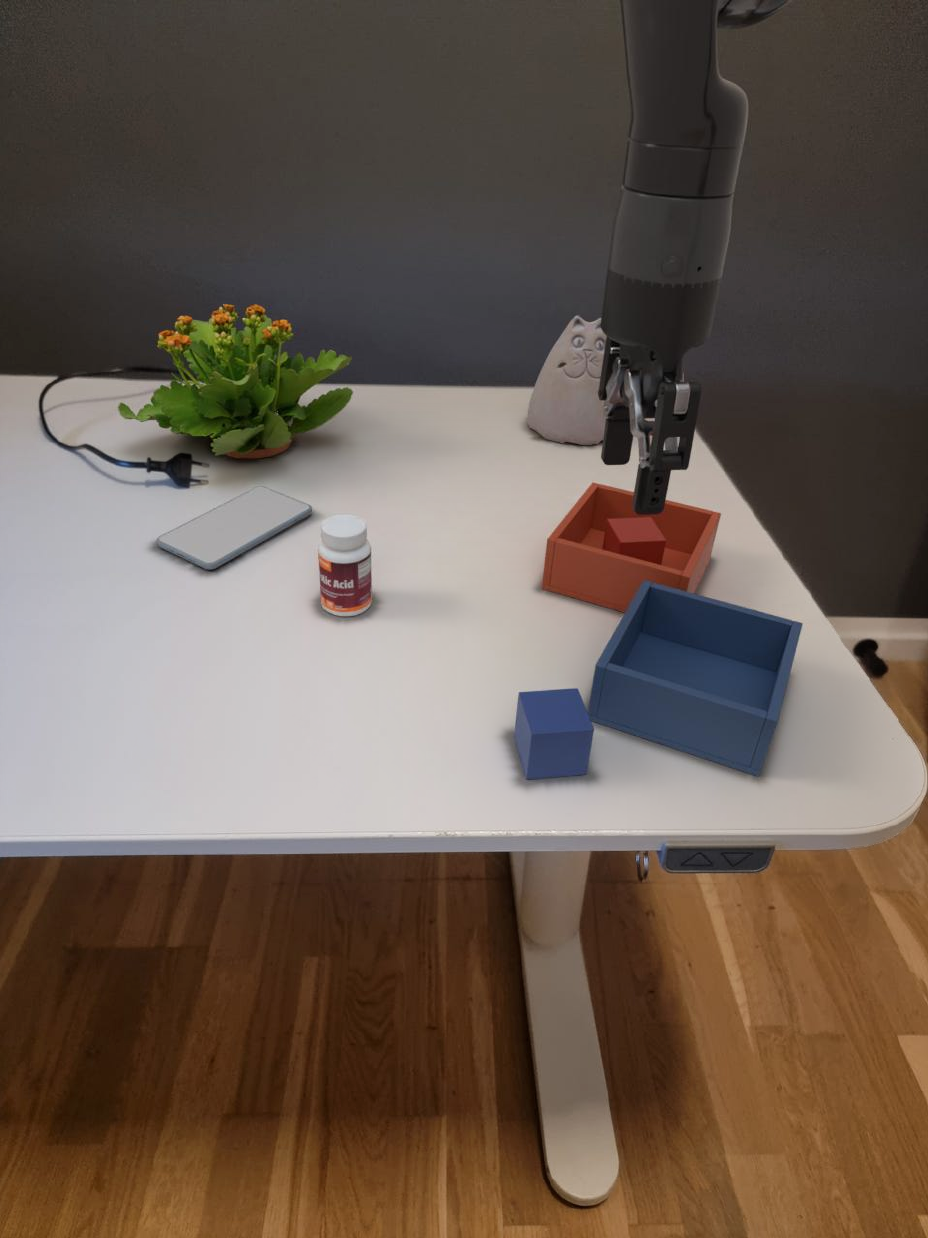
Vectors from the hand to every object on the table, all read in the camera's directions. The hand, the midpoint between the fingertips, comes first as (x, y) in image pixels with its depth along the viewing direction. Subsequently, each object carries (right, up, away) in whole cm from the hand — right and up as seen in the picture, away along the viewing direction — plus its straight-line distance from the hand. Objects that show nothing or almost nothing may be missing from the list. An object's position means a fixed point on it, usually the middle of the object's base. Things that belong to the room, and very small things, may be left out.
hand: (629, 486), depth 66 cm
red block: (+4, -5, +20) cm, 21 cm away
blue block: (-6, -21, -1) cm, 22 cm away
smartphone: (-37, -1, +24) cm, 44 cm away
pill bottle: (-24, -9, +14) cm, 29 cm away
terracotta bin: (+4, -6, +21) cm, 22 cm away
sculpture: (+2, +15, +50) cm, 52 cm away
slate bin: (+6, -17, +5) cm, 19 cm away
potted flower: (-38, +12, +42) cm, 58 cm away
